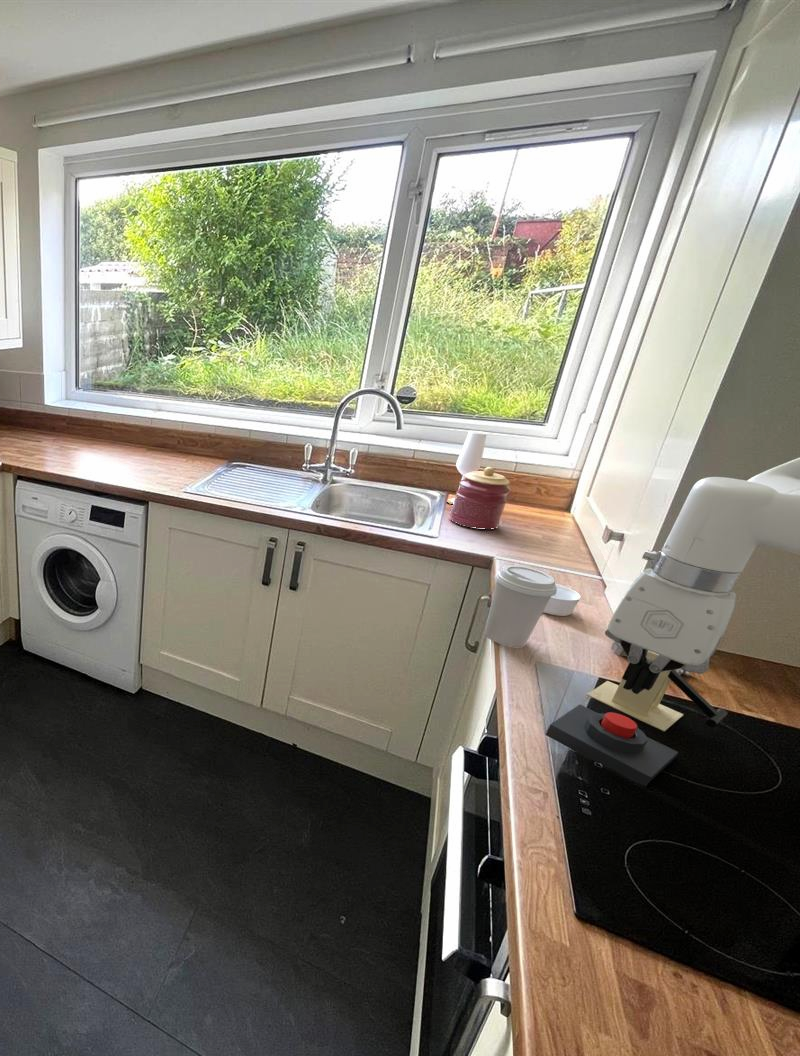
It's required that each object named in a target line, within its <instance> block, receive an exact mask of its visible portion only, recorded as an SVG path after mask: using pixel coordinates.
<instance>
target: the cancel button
mask: <svg viewBox="0 0 800 1056" xmlns="http://www.w3.org/2000/svg"><path fill="white" fill-rule="evenodd" d="M604 714H605V716H604V718H603V720H602V722H601V726H602V727H603V728H604V729H606V730H607V731H609V732H611V733H613V734H615V735H617V736H621V737H624V738H631V737H633V735H634V733H635V731H636V729H637V728H638V724H637V723H636V721H634V720H632V719H631V718H630V717H628V716H626V715H623V714H621V713H617V712H613V711H612V712H606V713H604Z"/></svg>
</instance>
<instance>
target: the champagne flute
mask: <svg viewBox="0 0 800 1056" xmlns="http://www.w3.org/2000/svg"><path fill="white" fill-rule="evenodd" d="M487 435H488V433H487V432H485V431H479V430H469V431H468V434H467V435H466V438H465V441H464V443H463V446H462V448H461V450H460V452H459V455H458V458H457V460H456V463H455V467H456V469H457V471H458V473H460V475H461V480H464V479H465V478H466V477H465V474H467V473H471V472H472V471H480V468H481V465H482V461H483V460H482V459H483V455H484V450H485V445H486V439H487ZM459 488H460V485H459V487H458V489H459ZM449 500H450V501H451V502H453V503H454V500H455V497H454V498H450V499H449Z"/></svg>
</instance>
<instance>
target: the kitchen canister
mask: <svg viewBox="0 0 800 1056" xmlns="http://www.w3.org/2000/svg"><path fill="white" fill-rule="evenodd" d="M495 471H496V470H495V468H494V467H492V466H487V467H485V468H484V470H478V471H472V472H471V473H467V474H465V477H466V478H465V479H464V480H462V479H460V480H459V482H458V484H459V486H460V488H459V487H458V490H456V492H455V496H454V498H455V500H454V503H453V505H451V510H450V511H449V517H450V519H451V520H453V521H454V522H457V523H459V524H461V525H465V526H468V527H476V528H485V529H491V528H496V527H497V528H498V527H499V525H500V523H501V521H502V517H503V516H502V515H503V513H504V509H505V506H506V505H507V503H508V499H507V496H508V494H510V493H511V488H510V487H508V485H510V484H511V481H510V480H509V479H508V478H506V477H505V476H504V475H503V474H500V473H496V472H495ZM450 519H449V520H450ZM451 520H450V521H451ZM454 522H453V523H454ZM461 525H460V526H461ZM497 528H496V529H497Z"/></svg>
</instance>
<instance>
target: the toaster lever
mask: <svg viewBox="0 0 800 1056" xmlns="http://www.w3.org/2000/svg"><path fill="white" fill-rule="evenodd" d="M668 678H669V679H670V680H672V681H671V682H672V683H673V684H675V686H677V687H678V689H679V690H681V691H682V693H684V695H686V696H687V698H689V699H690V700H691V702H693V704H695V705H696V707H698V708H699V709H700V710H701V711H702V712H703V713H704V714H705V715H706V716H707V718H706V719H705V721H704V724H706V725H707V727H711V728H715V727H717V726H718V724H720V723H721V722H722V721H723V720H724V719H725V718H727V716H728V714H729V713H728V711H727V710H726V709H725V708H718V709H716V708H714V707H713V706H712V705H711V704H710V702H708V701H707V700H706V699H705V698H704V697H703V696H702V695H701V694H700V693H699V692H698V691H697V690H696V689H695V688H694V687H693V686H692V685H691V684H690V683H689V682H688V681H686V680H685V678H684V677H683V676H681V675H679V674H678V673H677V672H676V671H675V670H671V671H670V673H669V675H668Z"/></svg>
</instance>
